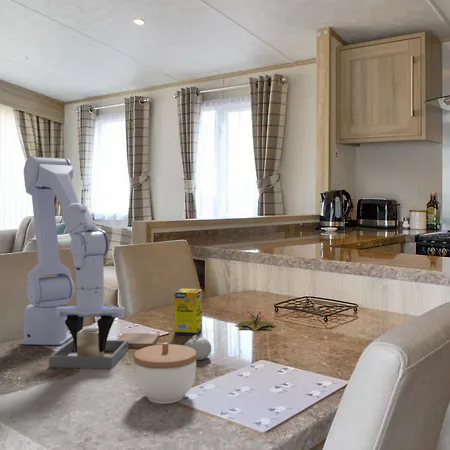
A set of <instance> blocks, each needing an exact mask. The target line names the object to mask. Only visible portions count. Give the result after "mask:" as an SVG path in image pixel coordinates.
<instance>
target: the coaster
mask: <svg viewBox="0 0 450 450" xmlns="http://www.w3.org/2000/svg"><path fill="white" fill-rule="evenodd" d="M116 340H128V349H130V348H132V349H133V348H135V349H142V348H145V347H148V346H154V345H156V344H157V342H158V341H159V340H160V333H144V332H143V333H140V332H139V333H137V332H136V333H132V332H128V333H127V332H123V333H122V334H121V335H120V336H119V337H118V338H117V339H116Z"/></svg>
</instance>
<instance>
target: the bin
mask: <svg viewBox="0 0 450 450" xmlns="http://www.w3.org/2000/svg"><path fill="white" fill-rule="evenodd" d="M73 351H76V347H75V343H74V340H73V339H71V340H68V342H67V343H66V344H64V345H63V346H61V347H60V348H59V349H57V350H56V351H55V352H53V353H51V355H49V356H48V367H49V368H63V369H64V368H68V369H69V368H71V369H73V368H76V369H113V368H114V367H115V365H117V364H118V362H119V361H120V360H121V359H122V358H123V357H124V356H125V354H126V353H127V352H128V351H129V348H128V340H117V339H116V340H115V339H107V341H106V347H105V350H104V351H108V352H109V351H113V353H112V354H110V356H103V357H97V356H77V355H69V354H71V353H72V352H73Z"/></svg>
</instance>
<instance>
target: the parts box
mask: <svg viewBox="0 0 450 450" xmlns="http://www.w3.org/2000/svg"><path fill="white" fill-rule="evenodd" d="M76 353H77V354H76V356H97V357H105V350H104V351H103V352H100V351H99V330H98V327H83V329H82V330H81V331H79V332H78V333H77V351H76Z"/></svg>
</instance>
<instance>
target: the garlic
mask: <svg viewBox="0 0 450 450" xmlns="http://www.w3.org/2000/svg"><path fill="white" fill-rule="evenodd" d="M183 346H187V347H191V348H193V349H195V351H196V352H197V359H196V361H202V360H205V359H207V358H208V357H209V356H210V355H211V353H212V345H211V343H210V341H209V340H208V339H207V338H204V337H199V336H198V334H197V335H195V336H192V337H191V338H190V339H188V341H187V342H185V343H184V344H183Z"/></svg>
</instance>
